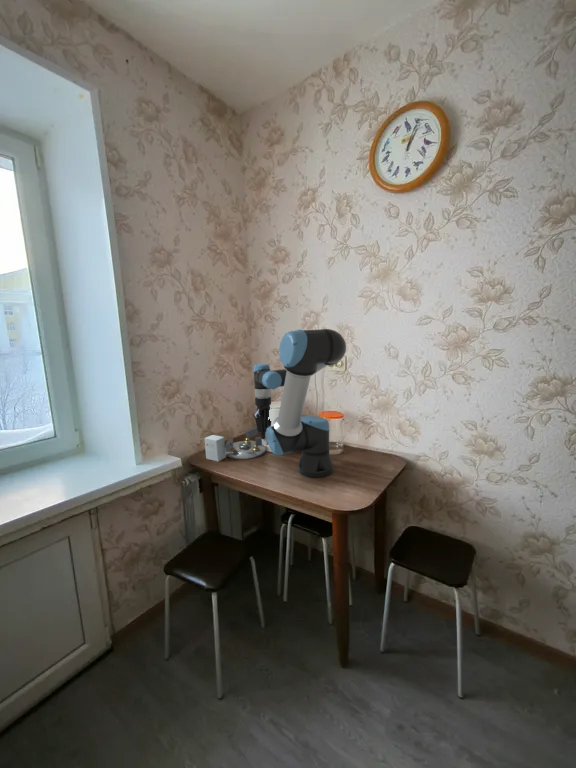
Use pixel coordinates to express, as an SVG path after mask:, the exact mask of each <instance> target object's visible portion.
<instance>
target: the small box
mask: <svg viewBox="0 0 576 768" xmlns="http://www.w3.org/2000/svg"><path fill="white" fill-rule="evenodd" d="M225 444H226V441H225V437H224V436H221V435H215V434H212V435H208V436H206V437H204V449H205V458H206V460H211V461H213V462H220V461H222V460H224V459H226V458H227V456H226V451H225V448H226V447H225Z"/></svg>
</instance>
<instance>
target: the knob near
mask: <svg viewBox="0 0 576 768" xmlns="http://www.w3.org/2000/svg"><path fill="white" fill-rule="evenodd" d="M255 441H256V445H254V447H253V451H259V450H260V447H258V446H259V445H262V439H261V436H257V437H255ZM267 446H269V444H268V445H267Z"/></svg>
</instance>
